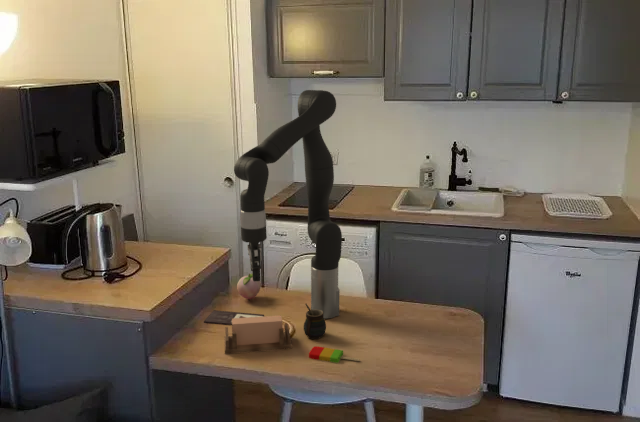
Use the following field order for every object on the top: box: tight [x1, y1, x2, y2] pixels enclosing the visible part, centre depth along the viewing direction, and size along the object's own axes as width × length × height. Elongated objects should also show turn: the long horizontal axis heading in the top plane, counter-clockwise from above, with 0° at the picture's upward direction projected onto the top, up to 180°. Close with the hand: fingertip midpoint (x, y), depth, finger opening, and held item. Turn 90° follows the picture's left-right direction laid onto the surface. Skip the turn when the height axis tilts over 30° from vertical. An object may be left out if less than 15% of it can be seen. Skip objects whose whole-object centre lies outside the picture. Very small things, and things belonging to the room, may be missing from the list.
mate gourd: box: [303, 303, 327, 340], centre depth 187 cm, size 7×8×10 cm
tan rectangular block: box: [231, 315, 283, 345], centre depth 181 cm, size 15×4×7 cm, turn 99°
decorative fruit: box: [236, 273, 262, 300], centre depth 214 cm, size 9×8×10 cm
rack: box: [224, 322, 293, 355], centre depth 181 cm, size 20×9×6 cm, turn 99°
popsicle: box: [308, 345, 361, 364], centre depth 174 cm, size 6×15×2 cm, turn 72°
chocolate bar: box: [203, 309, 265, 326], centre depth 199 cm, size 9×1×18 cm
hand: (255, 275), depth 180 cm, fingers open, 8 cm apart
